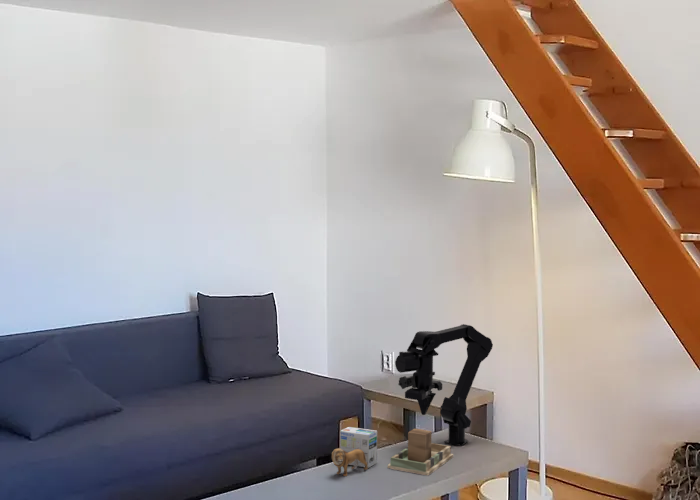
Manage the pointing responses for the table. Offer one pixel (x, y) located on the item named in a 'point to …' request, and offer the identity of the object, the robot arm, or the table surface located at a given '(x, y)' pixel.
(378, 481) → the table surface
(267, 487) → the table surface
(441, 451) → the beige flat tray
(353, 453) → the lion figurine
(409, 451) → the walnut block
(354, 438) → the light bulb box
